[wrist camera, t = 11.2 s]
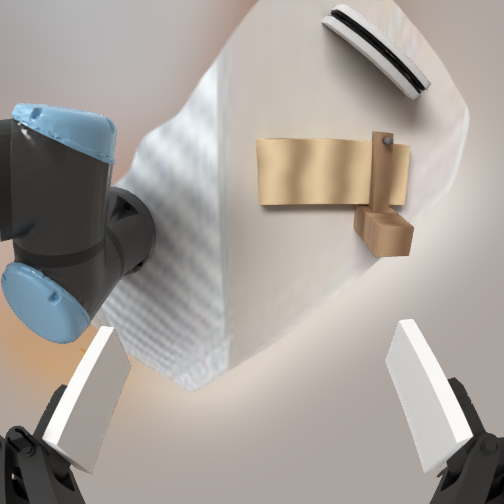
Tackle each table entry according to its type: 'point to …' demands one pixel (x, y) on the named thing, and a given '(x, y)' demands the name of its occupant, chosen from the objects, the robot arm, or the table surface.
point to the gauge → (382, 206)
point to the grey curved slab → (377, 49)
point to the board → (324, 171)
